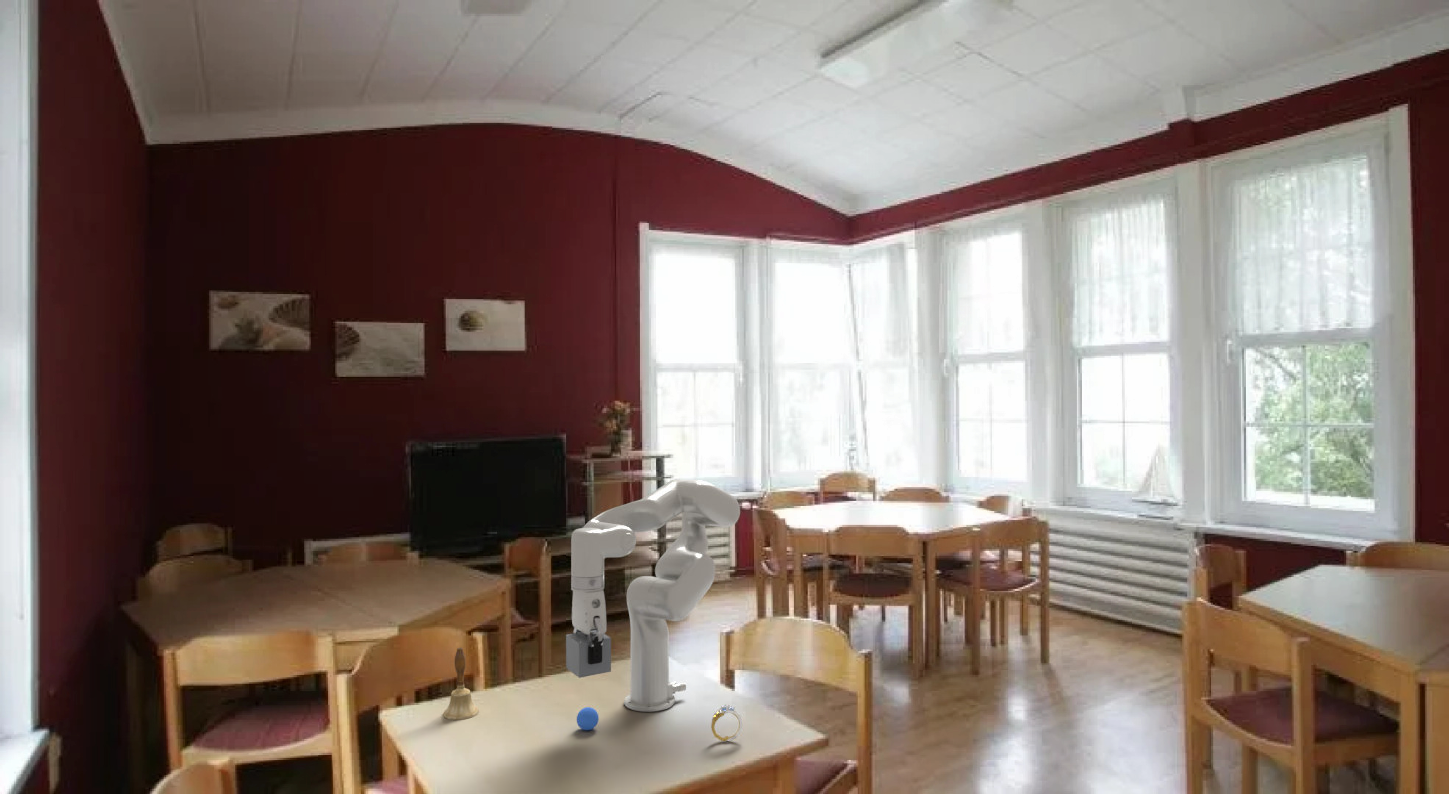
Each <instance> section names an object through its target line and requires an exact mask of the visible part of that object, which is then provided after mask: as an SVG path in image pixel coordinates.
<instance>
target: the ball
mask: <svg viewBox="0 0 1449 794" xmlns="http://www.w3.org/2000/svg"><path fill="white" fill-rule="evenodd" d="M598 723H599V713H598V711H597V710H596V709H594V708H593V707H589V706H587V707H583V708H582V709H580V710H579V712H578V713H577V716H576V724H577V726H578V727H579V728H580V729H582V730H583V731H590V730H593V729H594V728H596V726H597V725H598Z"/></svg>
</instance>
